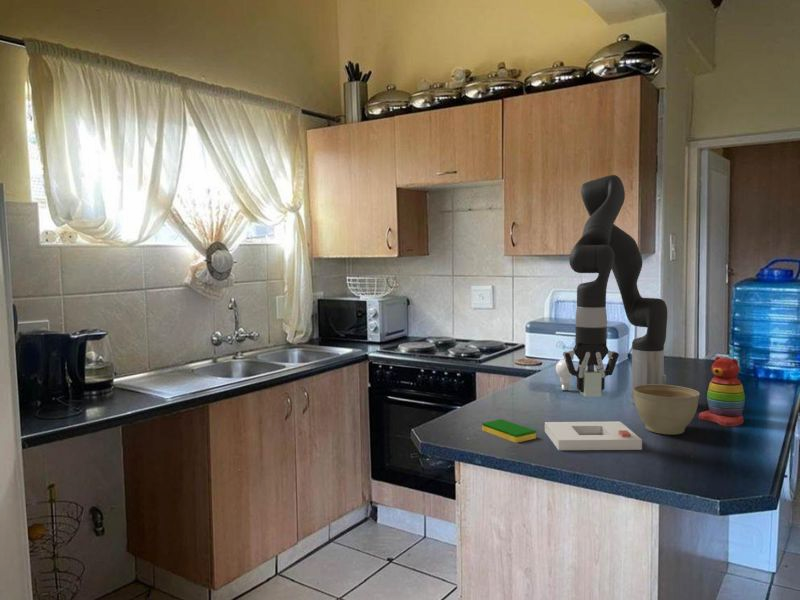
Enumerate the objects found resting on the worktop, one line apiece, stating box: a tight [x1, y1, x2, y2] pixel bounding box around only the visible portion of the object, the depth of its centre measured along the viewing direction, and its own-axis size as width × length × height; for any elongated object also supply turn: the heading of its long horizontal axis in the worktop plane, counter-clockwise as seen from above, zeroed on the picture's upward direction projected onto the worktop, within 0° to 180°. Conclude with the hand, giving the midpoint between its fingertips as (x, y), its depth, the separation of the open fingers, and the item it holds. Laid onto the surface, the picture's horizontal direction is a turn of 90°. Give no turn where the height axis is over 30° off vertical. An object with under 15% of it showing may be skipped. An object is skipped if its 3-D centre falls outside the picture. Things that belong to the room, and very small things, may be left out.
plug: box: [579, 364, 602, 398], centre depth 155 cm, size 4×5×8 cm
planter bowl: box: [633, 384, 700, 436], centre depth 163 cm, size 16×16×11 cm
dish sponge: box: [481, 418, 537, 444], centre depth 163 cm, size 7×14×2 cm, turn 32°
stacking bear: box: [698, 356, 746, 428], centre depth 171 cm, size 11×10×18 cm
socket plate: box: [544, 420, 643, 451], centre depth 156 cm, size 20×16×3 cm
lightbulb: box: [555, 358, 575, 392], centre depth 212 cm, size 6×6×11 cm
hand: (590, 391), depth 155 cm, fingers closed on plug, 4 cm apart
